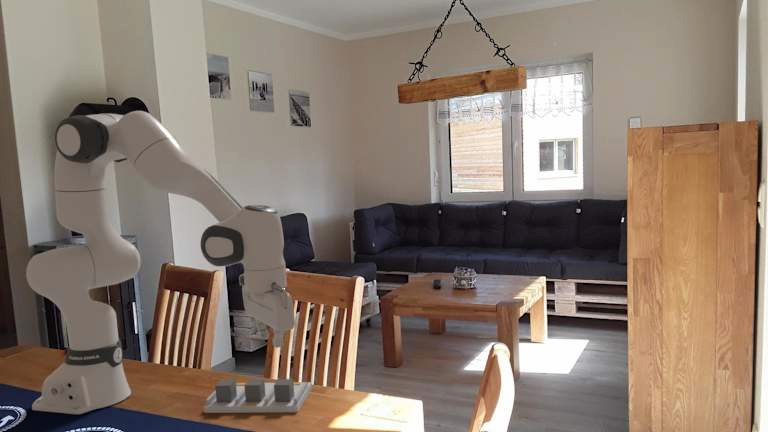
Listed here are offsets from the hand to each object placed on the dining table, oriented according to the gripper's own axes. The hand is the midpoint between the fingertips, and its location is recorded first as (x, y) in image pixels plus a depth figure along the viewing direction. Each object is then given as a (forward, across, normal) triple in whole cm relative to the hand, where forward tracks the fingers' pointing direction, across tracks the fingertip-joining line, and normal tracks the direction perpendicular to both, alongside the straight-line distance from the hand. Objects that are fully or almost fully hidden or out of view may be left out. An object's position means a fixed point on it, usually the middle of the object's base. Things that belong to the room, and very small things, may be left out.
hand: (270, 342), depth 132 cm
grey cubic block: (+16, +10, +1) cm, 19 cm away
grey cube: (+16, +6, -4) cm, 17 cm away
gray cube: (+16, +14, +6) cm, 22 cm away
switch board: (+17, +12, -1) cm, 21 cm away
